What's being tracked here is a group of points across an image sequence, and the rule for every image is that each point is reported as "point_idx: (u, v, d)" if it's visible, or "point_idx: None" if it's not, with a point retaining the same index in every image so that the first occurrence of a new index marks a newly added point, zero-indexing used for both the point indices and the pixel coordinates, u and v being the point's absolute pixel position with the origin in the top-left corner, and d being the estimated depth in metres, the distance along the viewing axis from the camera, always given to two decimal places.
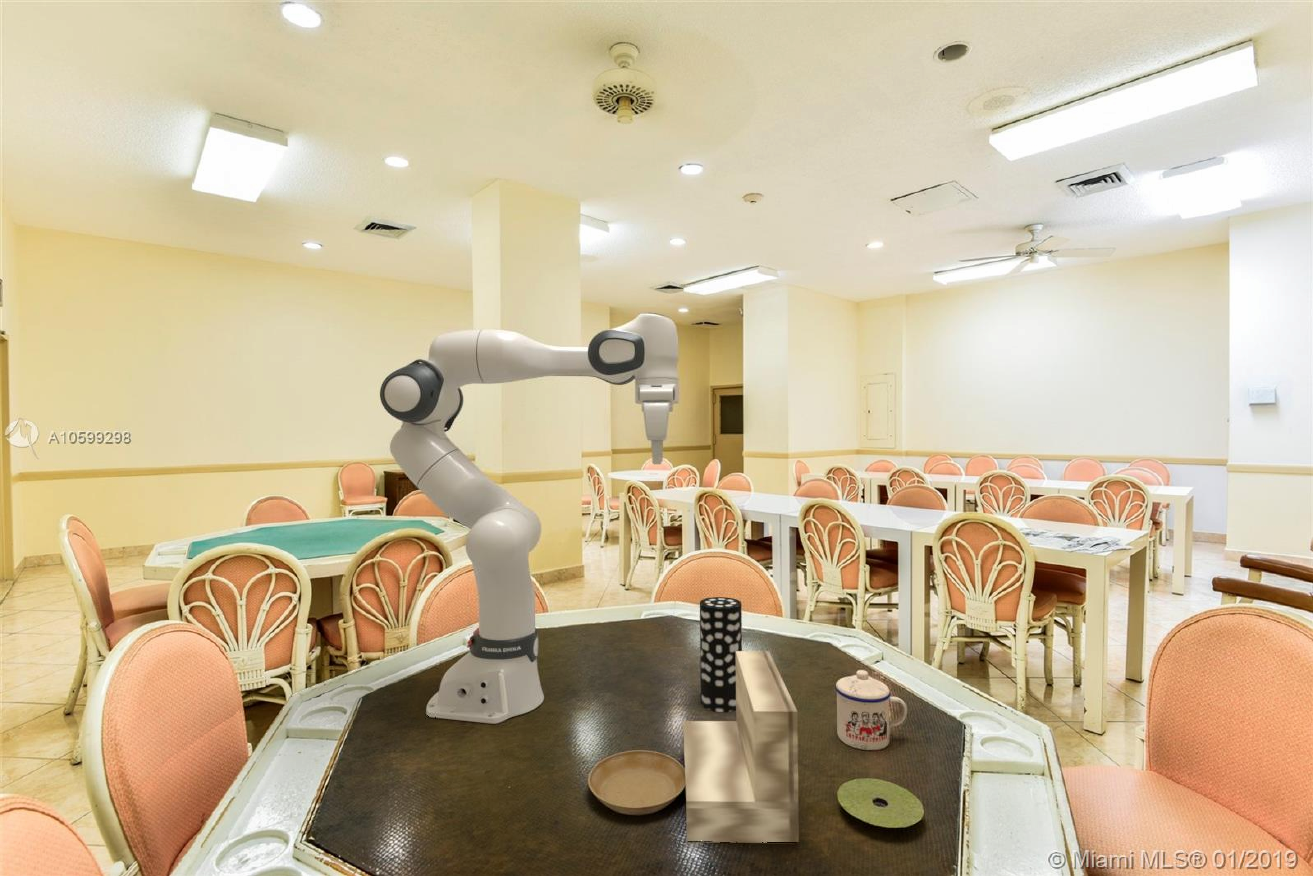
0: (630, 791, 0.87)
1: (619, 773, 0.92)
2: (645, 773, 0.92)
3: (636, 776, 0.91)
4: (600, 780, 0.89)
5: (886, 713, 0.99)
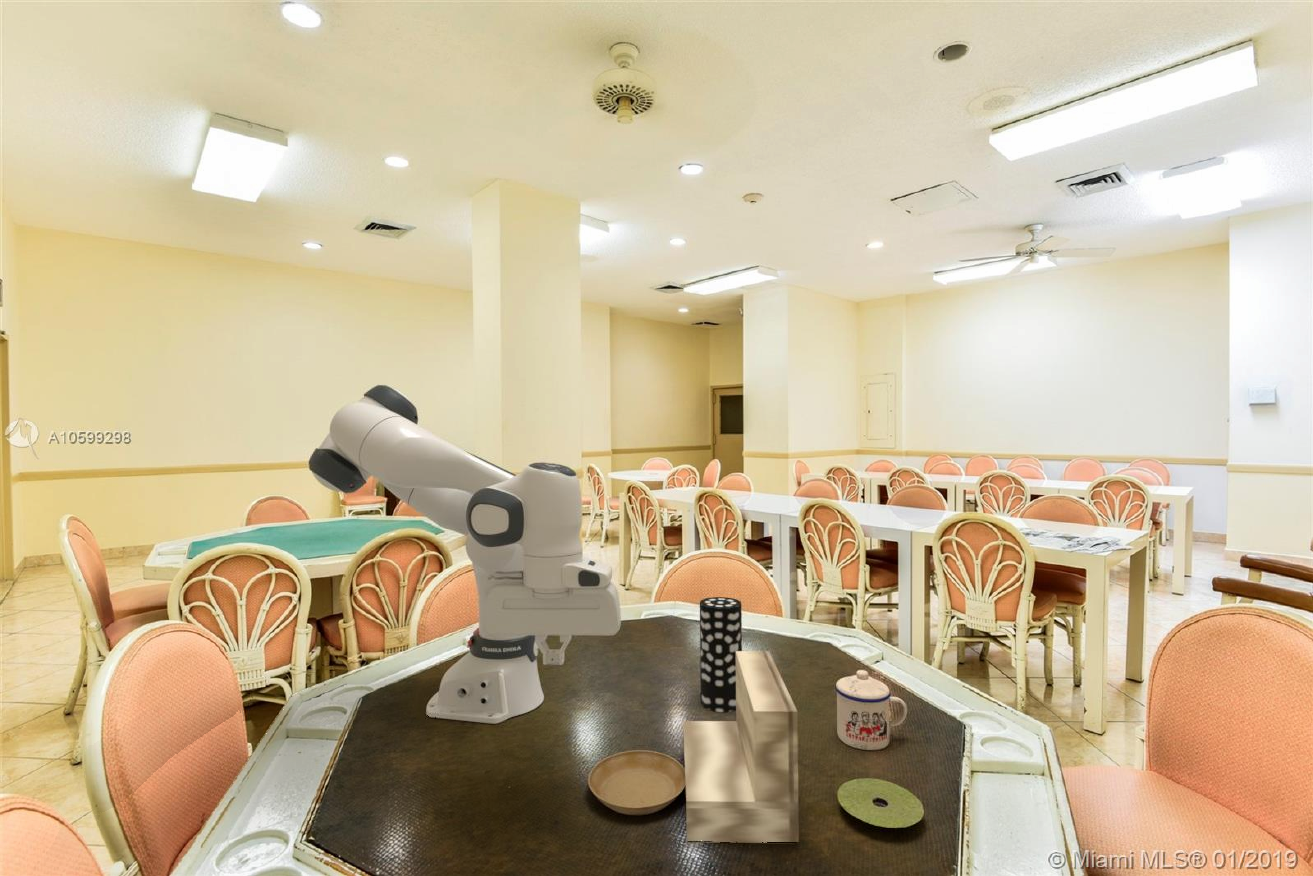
0: (630, 791, 0.87)
1: (619, 772, 0.92)
2: (645, 773, 0.92)
3: (636, 776, 0.91)
4: (600, 780, 0.89)
5: (886, 713, 0.99)
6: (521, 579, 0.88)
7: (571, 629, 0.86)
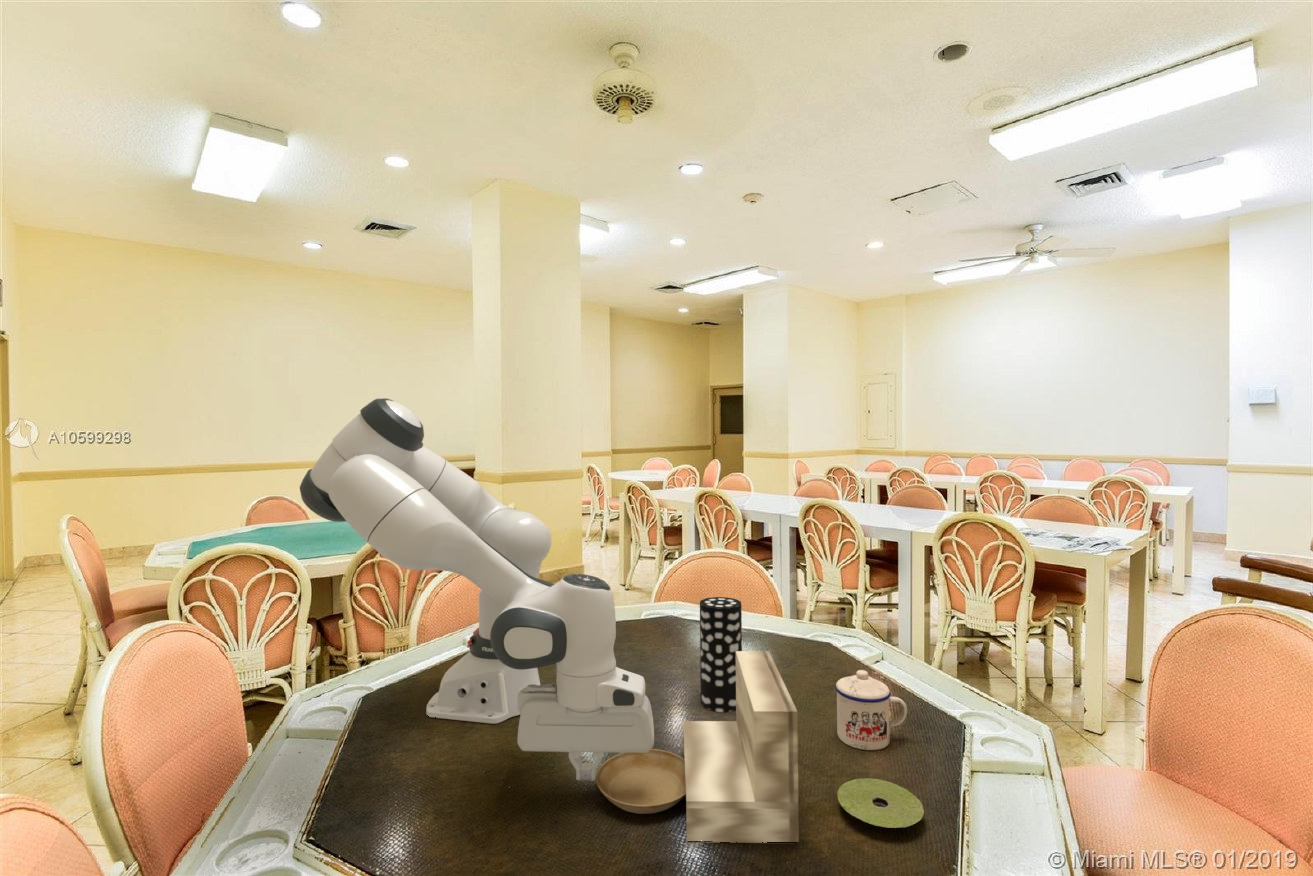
0: (638, 790, 0.87)
1: (626, 771, 0.92)
2: (652, 772, 0.92)
3: (644, 775, 0.91)
4: (607, 778, 0.89)
5: (886, 713, 0.99)
6: (554, 693, 0.87)
7: (605, 746, 0.85)
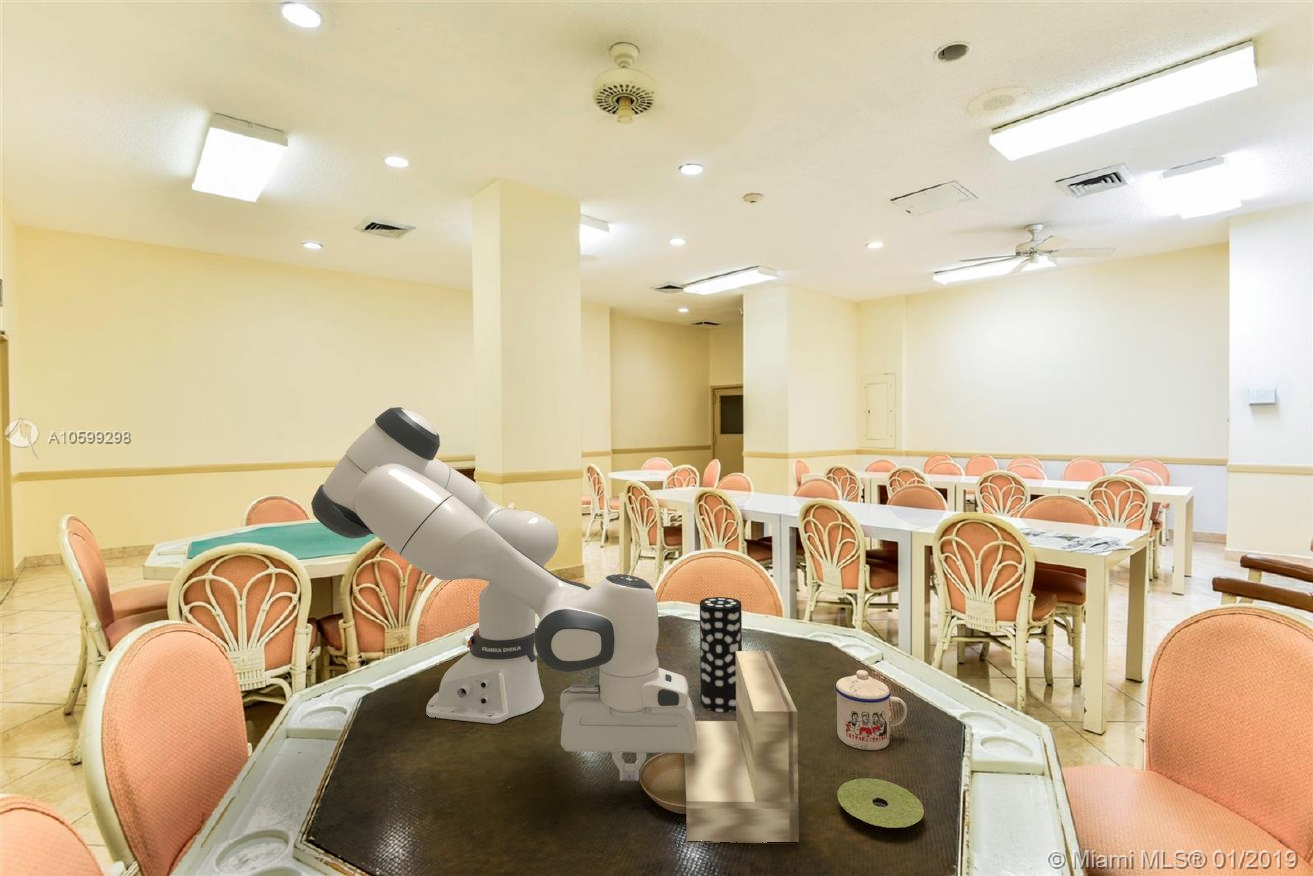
0: (681, 790, 0.87)
1: (668, 771, 0.92)
2: None
3: None
4: (650, 778, 0.89)
5: (886, 713, 0.99)
6: (597, 694, 0.87)
7: (649, 747, 0.85)
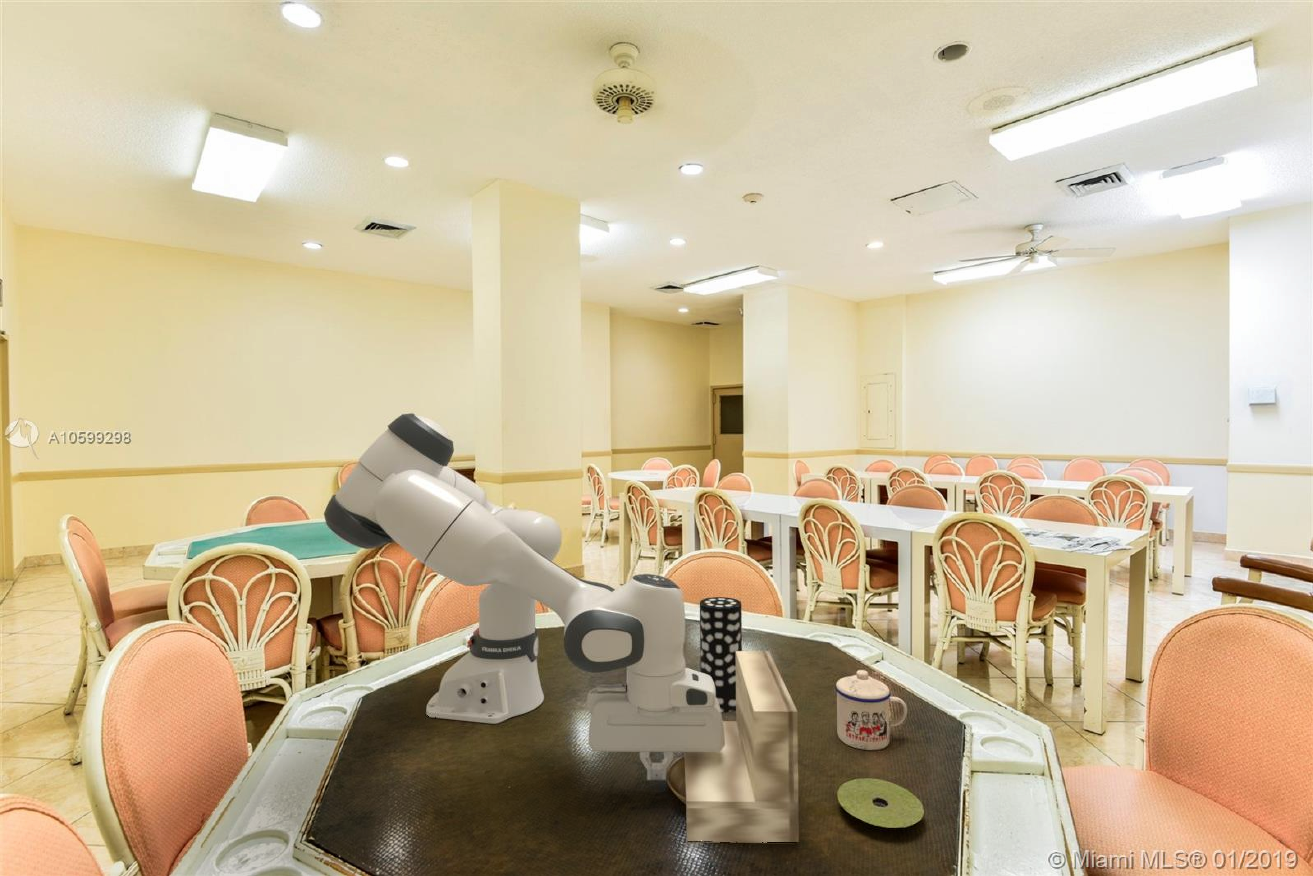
0: None
1: None
2: None
3: None
4: (677, 778, 0.89)
5: (886, 713, 0.99)
6: (624, 693, 0.87)
7: (677, 746, 0.85)
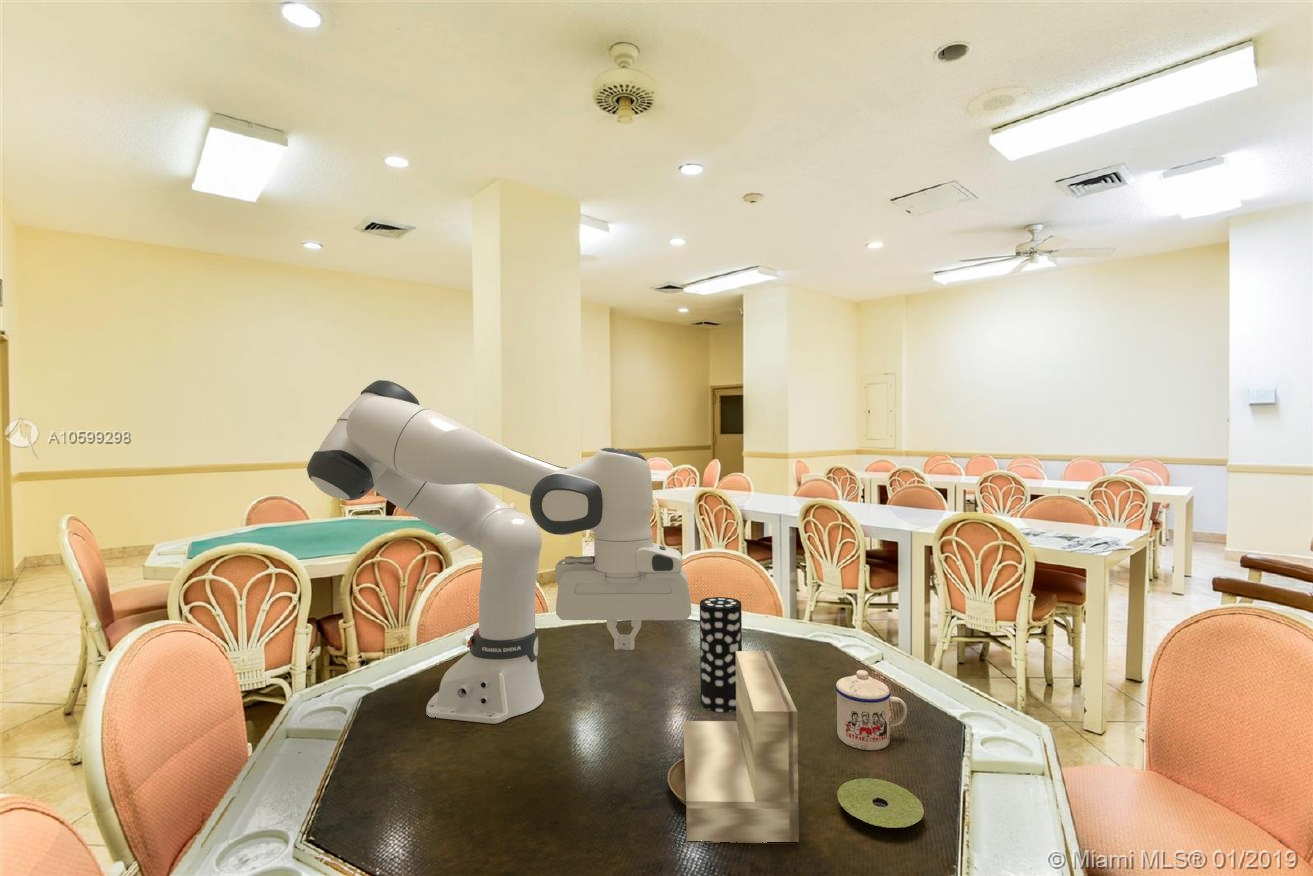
0: None
1: None
2: None
3: None
4: (678, 780, 0.89)
5: (886, 713, 0.99)
6: (592, 564, 0.88)
7: (643, 614, 0.86)
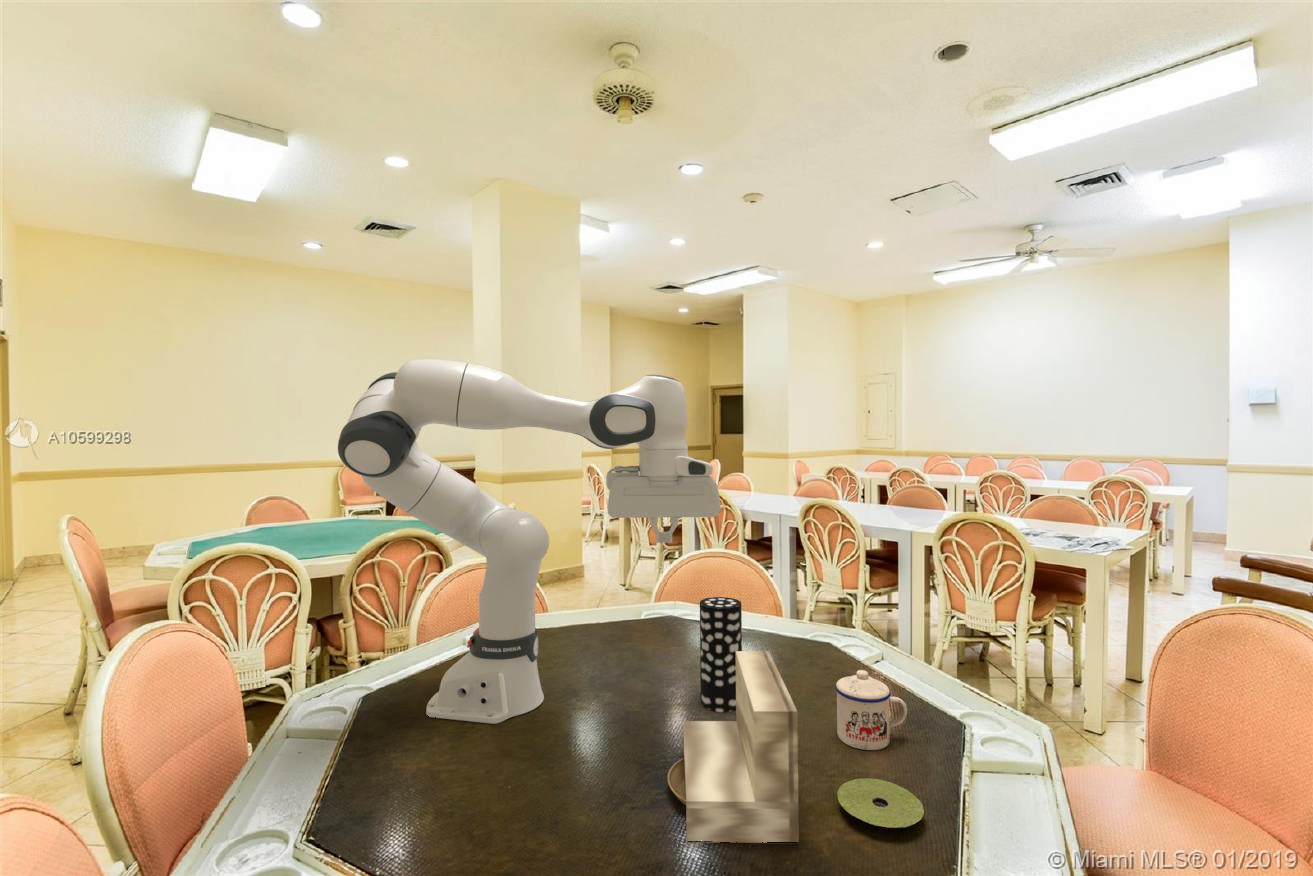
0: None
1: None
2: None
3: None
4: (678, 780, 0.89)
5: (886, 713, 0.99)
6: (637, 472, 1.05)
7: (681, 512, 1.04)
